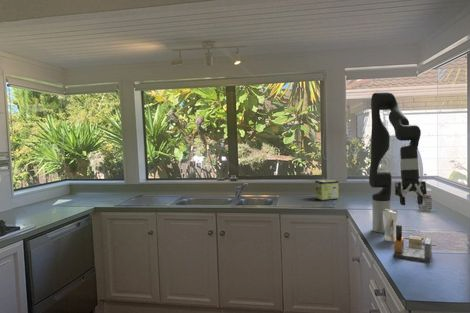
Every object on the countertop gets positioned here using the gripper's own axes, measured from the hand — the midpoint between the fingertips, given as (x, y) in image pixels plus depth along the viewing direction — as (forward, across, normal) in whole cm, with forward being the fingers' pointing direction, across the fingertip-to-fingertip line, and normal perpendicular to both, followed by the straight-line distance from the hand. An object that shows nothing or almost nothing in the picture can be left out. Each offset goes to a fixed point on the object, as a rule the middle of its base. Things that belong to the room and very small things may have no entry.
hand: (411, 204), depth 164 cm
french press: (+12, -63, -73) cm, 97 cm away
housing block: (+21, -5, -6) cm, 22 cm away
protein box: (+7, -20, -130) cm, 132 cm away
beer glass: (+20, -2, -20) cm, 28 cm away
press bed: (+22, +3, +3) cm, 22 cm away
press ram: (+20, +7, -1) cm, 21 cm away
